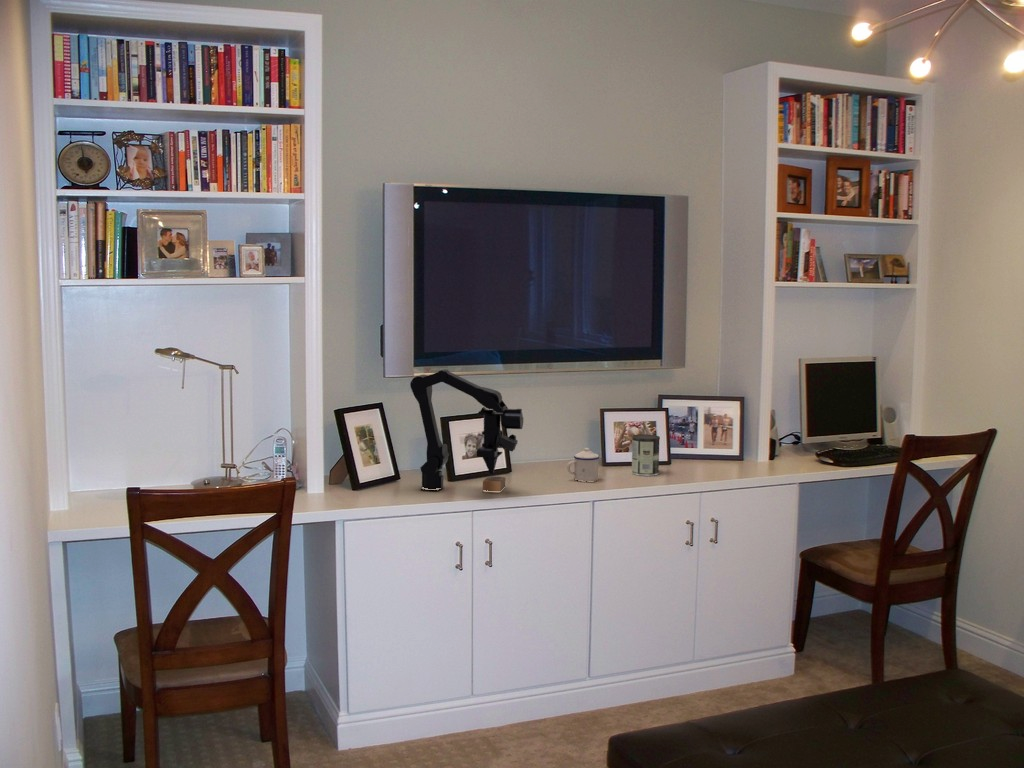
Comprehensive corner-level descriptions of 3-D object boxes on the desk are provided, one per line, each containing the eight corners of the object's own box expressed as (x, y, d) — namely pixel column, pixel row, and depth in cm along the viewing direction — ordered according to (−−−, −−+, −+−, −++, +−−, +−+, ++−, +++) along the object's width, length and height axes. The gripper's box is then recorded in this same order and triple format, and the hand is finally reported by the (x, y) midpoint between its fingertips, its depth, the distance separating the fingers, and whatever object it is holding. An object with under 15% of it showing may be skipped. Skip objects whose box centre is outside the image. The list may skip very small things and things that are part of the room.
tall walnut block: (482, 481, 314) (488, 476, 322) (482, 492, 315) (488, 487, 322) (499, 482, 313) (505, 477, 321) (499, 493, 313) (505, 488, 321)
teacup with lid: (592, 476, 341) (592, 445, 340) (602, 481, 333) (603, 449, 332) (562, 478, 337) (562, 447, 336) (572, 483, 329) (572, 451, 328)
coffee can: (649, 469, 355) (650, 433, 353) (664, 475, 345) (665, 437, 344) (626, 471, 351) (627, 434, 349) (639, 477, 341) (640, 439, 340)
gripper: (509, 433, 301) (508, 480, 303) (521, 424, 319) (520, 469, 321) (476, 431, 303) (475, 478, 305) (489, 423, 322) (489, 467, 323)
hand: (491, 473), depth 314 cm, fingers closed
